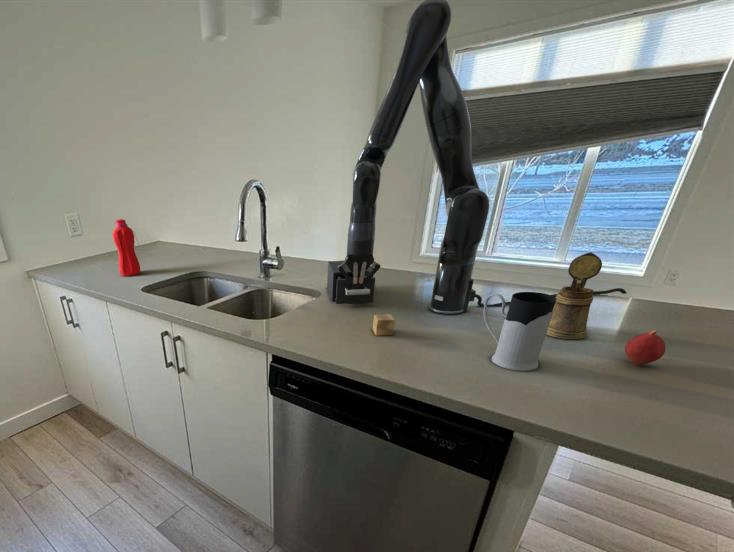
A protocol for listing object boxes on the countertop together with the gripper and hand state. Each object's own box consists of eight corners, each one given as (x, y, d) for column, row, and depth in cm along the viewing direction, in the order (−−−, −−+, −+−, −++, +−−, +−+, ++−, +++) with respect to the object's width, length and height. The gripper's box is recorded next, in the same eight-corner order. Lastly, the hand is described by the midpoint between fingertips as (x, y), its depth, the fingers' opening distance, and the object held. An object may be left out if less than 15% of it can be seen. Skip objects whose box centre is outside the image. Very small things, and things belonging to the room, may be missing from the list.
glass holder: (520, 374, 86) (542, 307, 78) (461, 351, 97) (475, 290, 90) (547, 364, 88) (570, 298, 81) (487, 342, 100) (502, 283, 92)
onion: (611, 360, 87) (626, 326, 83) (636, 357, 88) (652, 323, 84) (637, 372, 82) (654, 337, 78) (664, 369, 83) (682, 333, 79)
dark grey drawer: (376, 307, 125) (378, 282, 121) (337, 309, 127) (339, 284, 123) (364, 289, 142) (366, 266, 138) (330, 290, 143) (332, 268, 139)
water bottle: (142, 275, 191) (131, 219, 179) (119, 277, 191) (107, 221, 179) (145, 270, 199) (136, 216, 187) (123, 272, 200) (112, 219, 187)
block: (388, 329, 112) (390, 314, 110) (392, 335, 108) (394, 319, 106) (372, 329, 113) (374, 314, 111) (375, 335, 109) (377, 320, 107)
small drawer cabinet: (371, 299, 134) (374, 270, 130) (332, 301, 136) (333, 272, 131) (362, 286, 148) (364, 259, 143) (327, 287, 150) (328, 261, 145)
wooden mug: (587, 324, 104) (615, 253, 95) (584, 342, 96) (613, 266, 87) (545, 318, 110) (567, 250, 101) (538, 335, 101) (562, 262, 92)
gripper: (339, 241, 116) (336, 299, 124) (387, 238, 114) (380, 297, 122) (336, 236, 122) (333, 292, 131) (381, 233, 120) (375, 290, 129)
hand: (356, 294), depth 126 cm, fingers closed
